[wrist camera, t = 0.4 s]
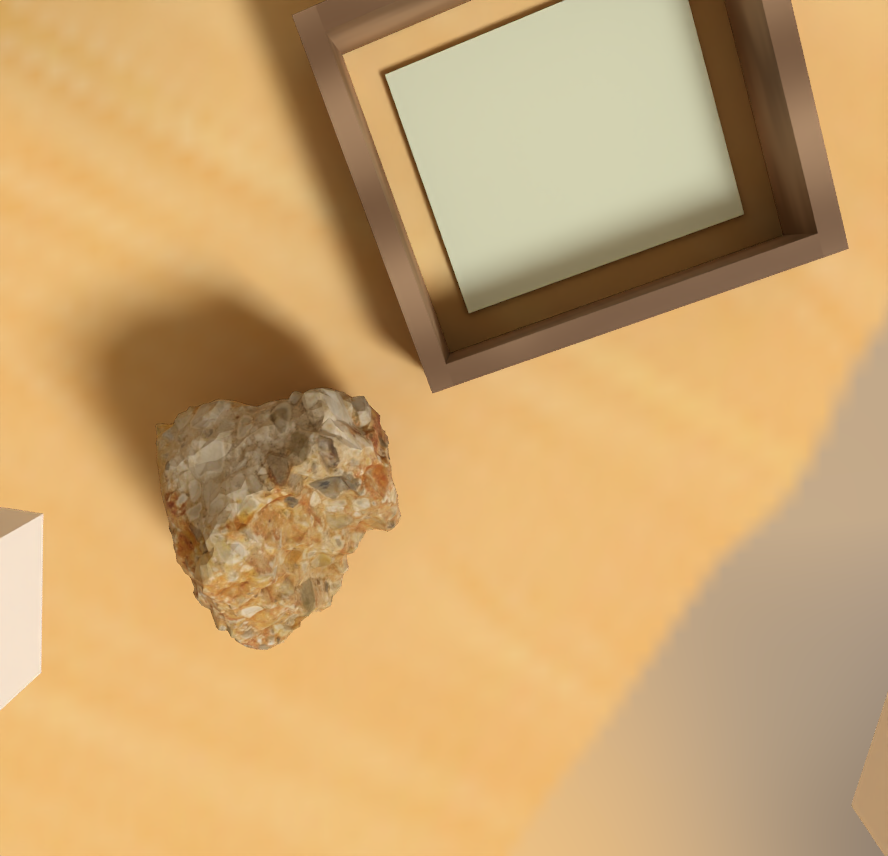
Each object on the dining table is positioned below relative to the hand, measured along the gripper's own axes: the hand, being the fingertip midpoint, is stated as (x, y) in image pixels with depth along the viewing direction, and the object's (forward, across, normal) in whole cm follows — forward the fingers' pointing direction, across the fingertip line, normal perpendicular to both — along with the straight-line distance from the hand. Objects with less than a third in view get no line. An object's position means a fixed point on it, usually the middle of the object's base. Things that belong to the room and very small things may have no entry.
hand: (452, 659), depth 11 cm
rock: (+25, -8, -6) cm, 27 cm away
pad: (+24, +2, +11) cm, 27 cm away
